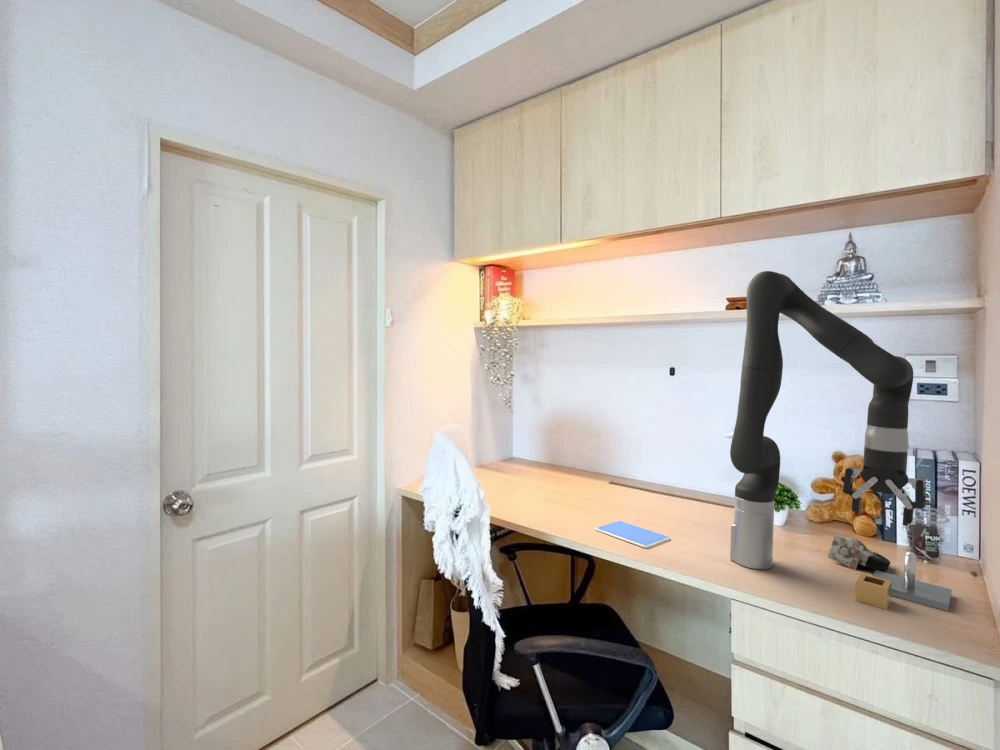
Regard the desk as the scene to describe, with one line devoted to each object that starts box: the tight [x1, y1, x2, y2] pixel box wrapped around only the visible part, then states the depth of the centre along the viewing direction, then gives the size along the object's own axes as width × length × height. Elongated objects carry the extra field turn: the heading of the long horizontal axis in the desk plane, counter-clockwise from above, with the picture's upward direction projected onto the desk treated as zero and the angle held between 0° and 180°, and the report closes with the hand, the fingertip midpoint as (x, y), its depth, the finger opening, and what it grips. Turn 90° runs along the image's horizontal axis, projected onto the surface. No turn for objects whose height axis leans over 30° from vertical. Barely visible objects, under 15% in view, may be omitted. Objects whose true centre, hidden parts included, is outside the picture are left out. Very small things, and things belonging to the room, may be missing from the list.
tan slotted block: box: [854, 572, 892, 610], centre depth 110 cm, size 6×6×4 cm
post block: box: [871, 551, 953, 612], centre depth 114 cm, size 14×10×10 cm
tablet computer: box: [594, 520, 671, 549], centre depth 150 cm, size 19×13×1 cm, turn 38°
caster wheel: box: [827, 533, 891, 573], centre depth 129 cm, size 7×11×10 cm
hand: (881, 519), depth 109 cm, fingers open, 8 cm apart
